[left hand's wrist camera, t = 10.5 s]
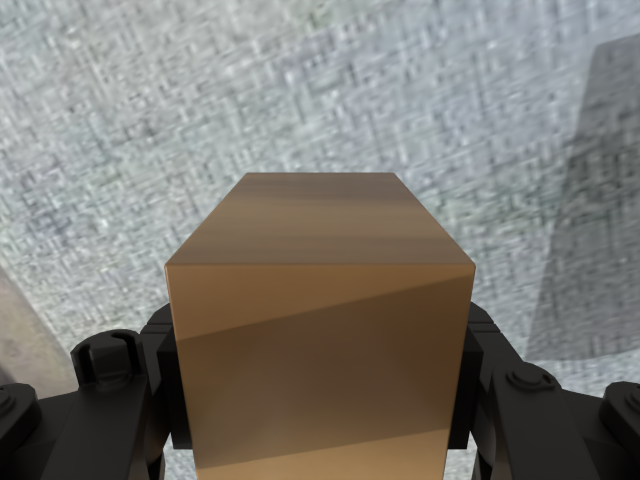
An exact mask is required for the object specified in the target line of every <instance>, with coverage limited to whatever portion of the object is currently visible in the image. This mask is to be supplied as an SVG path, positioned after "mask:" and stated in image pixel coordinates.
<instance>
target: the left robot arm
mask: <svg viewBox="0 0 640 480" xmlns="http://www.w3.org/2000/svg"><path fill="white" fill-rule="evenodd" d="M70 354H71V358H72V362H73V365H74V369H75V372H76V376H77V380H78V383H79V388H78V391H75V392H71V393H67V394H63V395H58V396H54V397H49V398H44V399H40V400H38V398H37V395H36V392H35V389H34V388H33V387H31V386H30V385H29V384H22V383H14V384H7V385H2V386H0V480H164V475H165V458H164V453H163V448H164V445H165V443H166V441H167V438H168V436H169V434H170V432H171V437H172V443H173V448H174V449H192V442H191V436H190V430H189V423H188V417H187V410H186V404H185V397H184V391H183V384H182V378H181V371H180V365H179V358H178V352H177V346H176V339H175V333H174V326H173V320H172V313H171V307H170V303H168V304H166V305H165V306H163V307H162V308H160V309H159V310H157V311H156V312H155V313H154V314H153V315H152V317H151V318H150V319H149V321H148V322H147V325H145V326H144V328H143V329H142V330H141V332H140V334H138V333H137V332H136V331H132V330H127V329H116V330H110V331H105V332H101V333H98V334H96V335H93V336H91V337H89V338H87V339H85V340H84V341H82V342H81V343H79V344H78V345H76V347H75V348H74V349H73V350H72V351H71V353H70ZM470 431H471V434H472V436H473V438H474V440H475V443H476V445H477V453H476V458H475V463H474V468H473V473H472V479H471V480H640V384H638V383H632V382H624V381H622V382H614V383H611V384H610V385H609V386H607V387H606V390H605V393H604V396H603V398H599V397H595V396H590V395H585V394H581V393H576V392H571V391H568V390H564V389H562V387H561V385H560V384H559V383H558V381H557V380H556V378H555V377H554V376H552V375H551V374H550V373H548V372H547V371H546V370H544V369H542V368H540V367H538V366H536V365H534V364H531V363H527V362H524V361H523V360H522V359H521V358H520V356H519V355H518V354H517V352H516V351H515V350H514V348H513V347H512V346H511V344H510V343H509V342H508V340H507V339H506V338H505V336H504V335H503V333H500V329H499V328H498V327H497V325H496V324H494V321H493V320H492V319H491V317H490V316H489V315H488V313H487V312H486V311H485V310H483V309H482V308H480V307H479V306H477V305H476V304H474V303H473V302H470V308H469V315H468V321H467V327H466V334H465V340H464V347H463V353H462V360H461V366H460V373H459V379H458V386H457V392H456V399H455V405H454V412H453V418H452V425H451V431H450V438H449V444H448V449H467V444H468V439H469V433H470Z"/></svg>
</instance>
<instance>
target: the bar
mask: <svg viewBox="0 0 640 480" xmlns="http://www.w3.org/2000/svg"><path fill="white" fill-rule="evenodd" d="M164 268H165V274H166V281H167V287H168V294H169V300H170V307H171V313H172V320H173V326H174V333H175V339H176V346H177V352H178V358H179V365H180V371H181V378H182V384H183V391H184V397H185V404H186V410H187V417H188V423H189V430H190V436H191V442H192V449H193V455H194V462H195V468H196V475H197V480H443V476H444V470H445V463H446V457H447V450H448V444H449V438H450V431H451V425H452V418H453V412H454V405H455V399H456V392H457V386H458V379H459V373H460V366H461V360H462V353H463V347H464V340H465V334H466V327H467V321H468V315H469V308H470V302H471V295H472V289H473V282H474V276H475V269H476V266H475V263H474V262H473V261H472V260H471V259H470V258H469V257H468V256H467V254H466V253H465V252H464V251H463V250H462V249H461V248H460V247H459V245H458V244H457V243H456V242H455V241H454V240H453V239H452V238H451V236H450V235H449V234H448V233H447V232H446V231H445V230H444V229H443V227H442V226H441V225H440V224H439V223H438V222H437V221H436V220H435V218H434V217H433V216H432V215H431V214H430V213H429V212H428V211H427V209H426V208H425V207H424V206H423V205H422V204H421V203H420V202H419V200H418V199H417V198H416V197H415V196H414V195H413V194H412V193H411V191H410V190H409V189H408V188H407V187H406V186H405V185H404V184H403V182H402V181H401V180H400V179H399V178H398V177H397V176H396V175H395V174H394V173H246V174H245V175H244V176H243V178H242V179H241V180H240V181H239V182H238V183H237V184H236V185H235V186H234V188H233V189H232V190H231V191H230V192H229V193H228V194H227V195H226V196H225V198H224V199H223V200H222V201H221V202H220V203H219V204H218V205H217V207H216V208H215V209H214V210H213V211H212V212H211V213H210V214H209V215H208V217H207V218H206V219H205V220H204V221H203V222H202V223H201V224H200V226H199V227H198V228H197V229H196V230H195V231H194V232H193V233H192V234H191V236H190V237H189V238H188V239H187V240H186V241H185V242H184V243H183V245H182V246H181V247H180V248H179V249H178V250H177V251H176V252H175V253H174V255H173V256H172V257H171V258H170V259H169V260H168V261H167V262H166V264H165V266H164Z"/></svg>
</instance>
